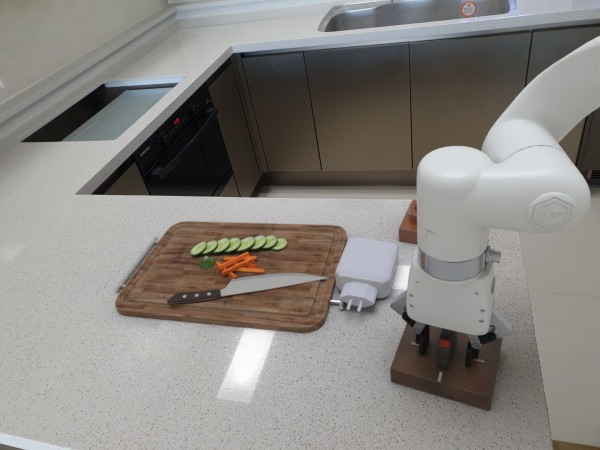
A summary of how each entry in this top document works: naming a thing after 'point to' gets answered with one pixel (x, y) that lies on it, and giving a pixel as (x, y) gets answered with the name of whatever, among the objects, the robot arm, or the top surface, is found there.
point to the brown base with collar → (409, 225)
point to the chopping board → (237, 275)
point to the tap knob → (445, 348)
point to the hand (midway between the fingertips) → (446, 351)
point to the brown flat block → (447, 383)
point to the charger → (366, 271)
